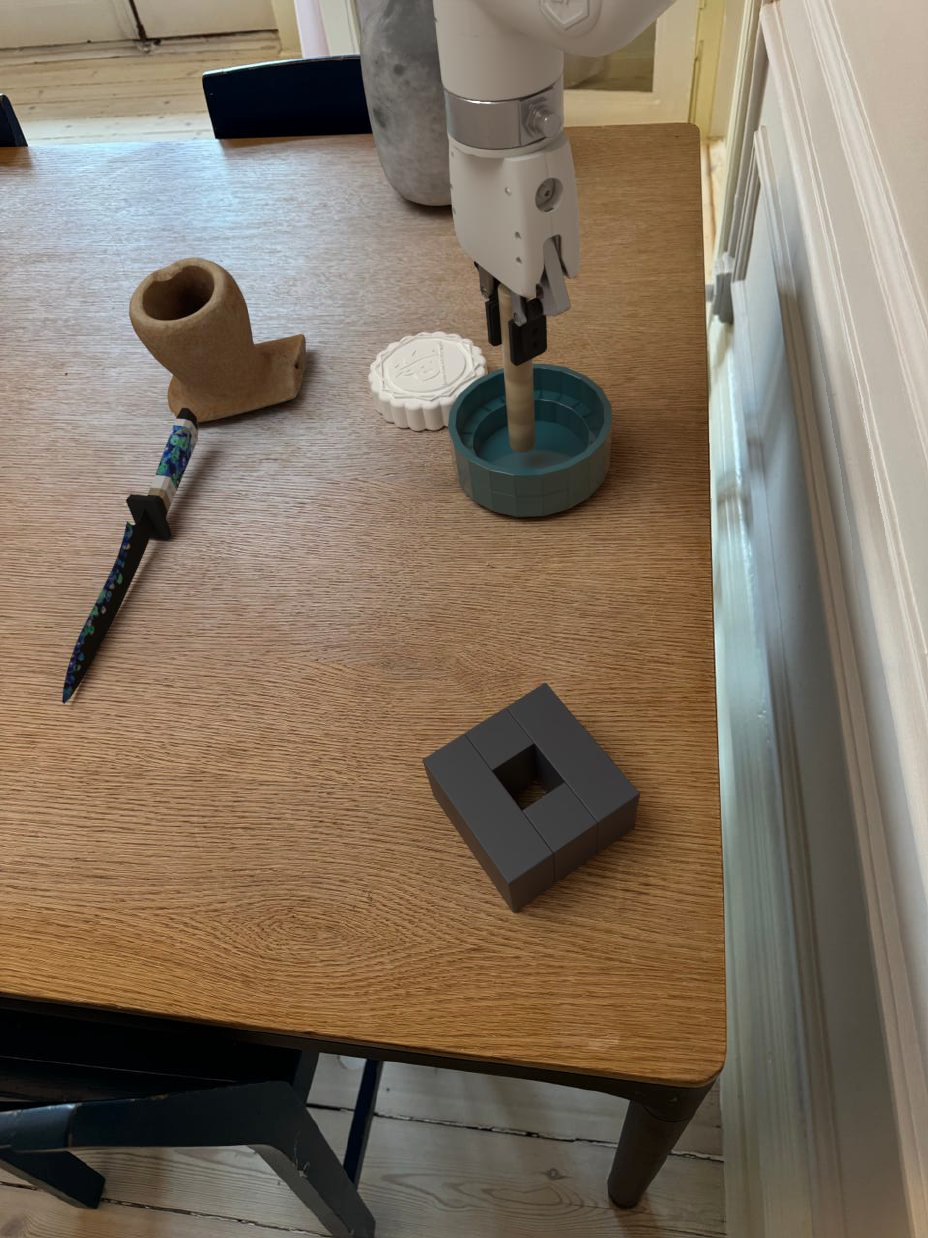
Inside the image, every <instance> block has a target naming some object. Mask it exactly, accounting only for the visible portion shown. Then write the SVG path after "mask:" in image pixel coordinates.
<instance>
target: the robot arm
mask: <svg viewBox="0 0 928 1238" xmlns="http://www.w3.org/2000/svg"><path fill="white" fill-rule="evenodd" d="M677 1H678V0H433V6H434V15H435V25H436V34H437V43H438V52H439V61H440V70H441V79H442V88H443V97H444V106H445V115H446V124H447V134H448V139H449V169H450V186H451V201H452V204H451V210H452V217H453V224H454V225H453V226H454V230H455V236H456V239H457V243H458V245H459V246H460V248H461V250H462V251H463V252H464V253H465V254H466V255H467V256H468V257H469V258H471V259H472V260H473V265H474V267H475V268H476V270H477V273H478V279H479V292H480V294H481V296H482V297H483V298H484V299H485V300H486V301H484V308H485V318H486V328H487V331H486V332H487V340H488V344H490V345H491V346H492V347H499V346H502V337H501V324H500V310H499V297H498V286H499V284H500V283H501V282H502V283H503V284H504V285H506V286H507V287H508V288H509V289H510V292H511V304H512V315H513V319H511V320H510V321H508V329H509V344H510V360H511V362H512V363H513V364H514V365H515V366H519V365H521V364H523V363H525V362H527V361H529V360H531V359H533V360H534V358H535V359H536V357H539V356H541V355H543V354H544V353H546V351H547V349H548V324H547V323H548V322H547V317H557V316H559V315H561V314H564V313H565V312H567V311H570V309H571V307H572V305H571V300H570V297H569V296H570V295H569V292H568V288H567V285H566V281H565V277H566V278H567V279H569V280H572V279H575V278H577V277H578V276H579V274H580V270H581V269H580V268H581V232H580V231H581V230H580V229H581V228H580V212H579V211H580V210H579V198H578V187H577V179H576V178H577V177H576V171H575V165H574V158H573V153H572V147H571V143H570V139H569V136H568V135H567V134H566V133H565V132H563V130H564V124H565V115H564V114H565V113H564V111H565V110H564V107H565V106H564V101H565V100H564V99H565V98H564V97H565V96H564V91H565V90H564V89H565V88H564V83H565V82H564V67H565V66H564V62H565V61H564V56H565V55H564V53H567V54H570V55H572V56H578V57H583V58H599V57H603V56H609V55H610V54H613V53H616V52H618V51H620V50H622V49H624V48H625V47H626V46H628V45H629V44H631V42H633V41H634V40H635V39H637V37H638V36H640V35H641V34H642V33H643V32H645V30H646V29H647V28H649V27H650V26H651V25H652V24H653V23H655V22H656V21H657V20H658V19H659V18H660V17H661V16H662V15H663V14H664V13H665V12H666V11H667V10H668V9H669V8H670V7H672V6H673V5H674V4H675V3H676V2H677ZM526 298H530V301H528V302H527V303H526Z"/></svg>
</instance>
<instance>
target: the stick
mask: <svg viewBox="0 0 928 1238" xmlns="http://www.w3.org/2000/svg"><path fill="white" fill-rule="evenodd" d="M498 297H499V310H500V324H501V337H502V344H501V349H502V362H503V368H504V378H505V391H506V405H507V418H508V432H509V445H510V447H511V449H512V450H513V451H515V452H519V453H525V452H529V451H531V450H532V449H533V448H534V447H535V445H536V433H535V408H534V383H533V364H534V363H533V362H534V358H533V359H531V360H529V361H527V362H525V363H523V364H521V365H519V366H515V365H514V364H513V363H512V362H511V360H510V344H509V329H508V321H510V320H511V319H513V315H512V304H511V292H510V289H509V288H508V287H507V286H506V285H504V284H503V283H502V282H501V283H500V284H499V286H498ZM530 300H531V298H526V303H527V302H528V301H530Z"/></svg>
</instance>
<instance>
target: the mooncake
mask: <svg viewBox="0 0 928 1238" xmlns="http://www.w3.org/2000/svg"><path fill="white" fill-rule="evenodd" d="M369 371H370V373H369V374H368V375H367V381H368V385H369V389H370V395H371V397H372V401H373V403H374V408H375V410H376V412H377V413H379V414H380V415H382V418H383V419H384V420H385V421H386V422H388V423H394V424H395V426H396V427H398V428H400V429H408V428H409V429H410V430H412V431H415V432H421V431H424V430H426V429H427V430H428V431H438V430H440V429H442V428H443V427H448V421H449V411H450V409H451V408H452V406H453V404H454V402H455V400H456V399H457V397H458V395H459V394H460V393H461V392H462V391H463V390H464V389H466V388H467V387H468V386H469V385H470V384H471V383H472V382H473V381H475V380H477V379H479V378H481V377H483V376H485V375H487V374H489V373H488V363H487V359H486V358H485V357H484V353H483V350H482V349H481V347H479V346H477V345H475V343H474V341H473V340H471V339H470V338H462V336H461V335H460V334H457V333H446V332H444V331H441V330H439V331H434V332H431V333H430V332H428V331H423V332H419V333H417V334H415V335H406V336H404V337H402V338H401V339H400V340H399V341H393V342H391V343H389V344H388V345H387V346H386V348H385V349H383V350H381V351H379V352H378V353H377V354H376V357H375V360H374V361H372V363H371V364H370V365H369Z"/></svg>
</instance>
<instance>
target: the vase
mask: <svg viewBox="0 0 928 1238" xmlns="http://www.w3.org/2000/svg"><path fill="white" fill-rule="evenodd" d="M359 54H360V66H361V76H362V81H363V88H364V94H365V95H364V96H365V99H366V107H367V111H368V117H369V121H370V126H371V130H372V136H373V140H374V143H375V148H376V152H377V156H378V159H379V163H380V166H381V168H382V172H383V173H384V176H385V178H386V180H387V182H388V183H389V185H390V186H391V187H392V189H393V190H394V191H395V192H396V193H397V194H398V195H400V196H401V197H403V198H405V199H406V200H408V201H410V202H412V203H416V204H420V205H425V206H432V207H433V206H435V207H437V206H449V205H452V201H451V186H450V169H449V139H448V134H447V124H446V115H445V106H444V97H443V88H442V79H441V70H440V61H439V52H438V43H437V34H436V25H435V15H434V6H433V0H384V1H382V2H381V3H380V4H378V5H377V6H376V7H374V8H373V9H372V10H371V12H370V13H369V14H368V15H367V16H366V18H365V20H364V22H363V25H362V27H361V31H360V39H359Z"/></svg>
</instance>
